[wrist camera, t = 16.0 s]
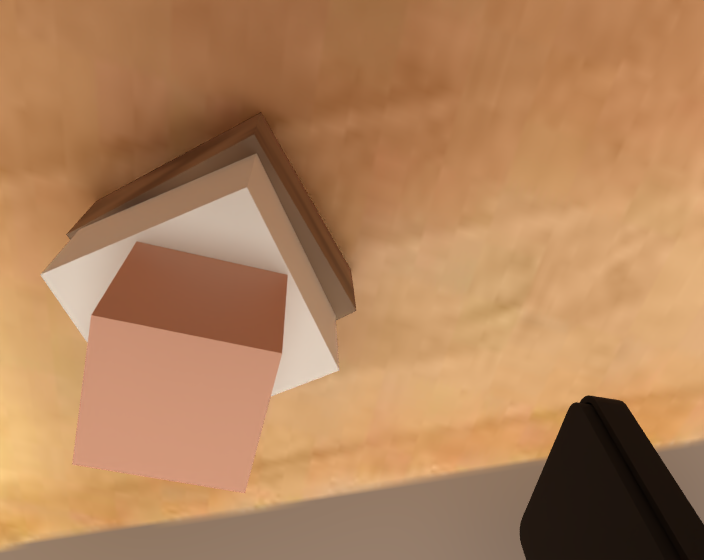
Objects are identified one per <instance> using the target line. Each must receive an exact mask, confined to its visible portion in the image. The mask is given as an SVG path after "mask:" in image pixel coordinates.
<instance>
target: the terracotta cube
mask: <svg viewBox="0 0 704 560" xmlns="http://www.w3.org/2000/svg"><path fill="white" fill-rule="evenodd" d="M287 278H288V275H286V274H282V273H277V272H273V271H268V270H264V269H259V268H255V267H250V266H245V265H241V264H236V263H232V262H227V261H223V260H218V259H214V258H209V257H205V256H200V255H196V254H191V253H187V252H182V251H178V250H173V249H169V248H164V247H160V246H155V245H151V244H146V243H142V242H137V241H136V243H135V245H134V246H133V248H132V250H131V251H130V253H129V254H128V256H127V258H126V259H125V261H124V263H123V264H122V266H121V267H120V269H119V271H118V272H117V274H116V276H115V277H114V279H113V280H112V282H111V284H110V285H109V287H108V289H107V290H106V292H105V293H104V295H103V297H102V298H101V300H100V302H99V303H98V305H97V306H96V308H95V310H94V311H93V313H92V314H91V320H90V328H89V336H88V344H87V352H86V360H85V368H84V376H83V384H82V392H81V400H80V408H79V415H78V423H77V431H76V439H75V447H74V455H73V463H72V465H78V466H84V467H90V468H96V469H102V470H109V471H115V472H121V473H127V474H133V475H139V476H145V477H151V478H157V479H163V480H169V481H175V482H181V483H187V484H193V485H199V486H205V487H211V488H217V489H223V490H229V491H235V492H241V493H245V491H246V487H247V484H248V480H249V476H250V472H251V469H252V465H253V461H254V457H255V454H256V450H257V446H258V442H259V439H260V435H261V431H262V427H263V424H264V420H265V416H266V412H267V409H268V405H269V401H270V397H271V394H272V390H273V386H274V382H275V379H276V375H277V371H278V367H279V364H280V360H281V356H282V349H283V335H284V321H285V307H286V293H287Z"/></svg>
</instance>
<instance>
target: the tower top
mask: <svg viewBox="0 0 704 560" xmlns="http://www.w3.org/2000/svg"><path fill="white" fill-rule="evenodd" d="M136 241H137V242H142V243H146V244H151V245H155V246H160V247H164V248H169V249H173V250H178V251H182V252H187V253H191V254H196V255H200V256H205V257H209V258H214V259H218V260H223V261H227V262H232V263H236V264H241V265H245V266H250V267H255V268H259V269H264V270H268V271H273V272H277V273H282V274H286V275H288V278H287V293H286V307H285V321H284V335H283V349H282V356H281V360H280V364H279V367H278V371H277V375H276V379H275V382H274V386H273V390H272V394H271V396H273V395H276V394H279V393H281V392H284V391H287V390H289V389H292V388H294V387H297V386H300V385H302V384H305V383H307V382H310V381H313V380H315V379H318V378H321V377H323V376H326V375H328V374H331V373H334V372H336V371H339V358H338V344H337V330H336V316H335V314H334V312H333V309H332V307H331V305H330V303H329V301H328V299H327V297H326V295H325V293H324V291H323V289H322V287H321V285H320V283H319V281H318V279H317V277H316V275H315V272H314V270H313V268H312V266H311V264H310V262H309V260H308V258H307V256H306V254H305V252H304V250H303V248H302V246H301V244H300V242H299V240H298V238H297V235H296V233H295V231H294V229H293V227H292V225H291V223H290V221H289V219H288V217H287V215H286V213H285V211H284V209H283V207H282V205H281V203H280V201H279V198H278V196H277V194H276V192H275V190H274V188H273V186H272V184H271V182H270V180H269V178H268V176H267V174H266V172H265V170H264V168H263V166H262V164H261V161H260V159H259V157H258V155H257V153H256V154H253V155H251V156H249V157H246V158H244V159H242V160H239V161H237V162H235V163H232V164H230V165H228V166H225V167H223V168H221V169H218V170H216V171H214V172H211V173H209V174H207V175H204V176H202V177H200V178H197V179H195V180H193V181H190V182H188V183H186V184H184V185H181V186H179V187H177V188H174V189H172V190H170V191H167V192H165V193H163V194H160V195H158V196H156V197H153V198H151V199H149V200H146V201H144V202H142V203H139V204H137V205H135V206H132V207H130V208H128V209H125V210H123V211H121V212H118V213H116V214H114V215H111V216H109V217H107V218H104V219H102V220H100V221H97V222H95V223H93V224H90V225H88V226H86V227H83V228H81V229H79V230H78V232H77V233H76V234H75V235H74V236H73V237H72V239H71V240H70V241H69V242H68V243H67V244H66V245H65V247H64V248H63V249H62V250H61V251H60V252H59V254H58V255H57V256H56V257H55V258H54V259H53V261H52V262H51V263H50V264H49V265H48V266H47V267H46V269H45V270H44V271H43V272H42V273H41V274H40V275H41V276H42V278H43V279H44V281H45V282H46V284H47V285H48V286H49V288H50V289H51V291H52V292H53V294H54V295H55V297H56V298H57V299H58V301H59V302H60V304H61V305H62V307H63V308H64V310H65V311H66V312H67V314H68V315H69V317H70V318H71V320H72V321H73V323H74V324H75V326H76V327H77V328H78V330H79V331H80V333H81V334H82V336H83V337H84V339H85V340H86V341H87V343H88V336H89V328H90V320H91V314H92V313H93V311H94V310H95V308H96V306H97V305H98V303H99V302H100V300H101V298H102V297H103V295H104V293H105V292H106V290H107V289H108V287H109V285H110V284H111V282H112V280H113V279H114V277H115V276H116V274H117V272H118V271H119V269H120V267H121V266H122V264H123V263H124V261H125V259H126V258H127V256H128V254H129V253H130V251H131V250H132V248H133V246H134V245H135V243H136Z"/></svg>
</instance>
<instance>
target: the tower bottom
mask: <svg viewBox="0 0 704 560" xmlns="http://www.w3.org/2000/svg"><path fill="white" fill-rule="evenodd" d="M256 153H257V155H258V157H259V159H260V161H261V164H262V166H263V168H264V170H265V172H266V174H267V176H268V178H269V180H270V182H271V184H272V186H273V188H274V190H275V192H276V194H277V196H278V198H279V201H280V203H281V205H282V207H283V209H284V211H285V213H286V215H287V217H288V219H289V221H290V223H291V225H292V227H293V229H294V231H295V233H296V235H297V238H298V240H299V242H300V244H301V246H302V248H303V250H304V252H305V254H306V256H307V258H308V260H309V262H310V264H311V266H312V268H313V270H314V272H315V275H316V277H317V279H318V281H319V283H320V285H321V287H322V289H323V291H324V293H325V295H326V297H327V299H328V301H329V303H330V305H331V307H332V309H333V312H334V314H335V316H336V320H338V319H340V318H342V317H344V316H346V315H348V314H351V313H353V312H355V311H356V305H355V297H354V289H353V281H352V274H351V270H350V268H349V266H348V265H347V263H346V261H345V259H344V257H343V256H342V254H341V252H340V250H339V249H338V247H337V245H336V243H335V242H334V240H333V238H332V236H331V235H330V233H329V231H328V229H327V227H326V226H325V224H324V222H323V220H322V219H321V217H320V215H319V213H318V212H317V210H316V208H315V206H314V205H313V203H312V201H311V199H310V197H309V196H308V194H307V192H306V190H305V189H304V187H303V185H302V183H301V182H300V180H299V178H298V176H297V175H296V173H295V171H294V169H293V167H292V166H291V164H290V162H289V160H288V159H287V157H286V155H285V153H284V152H283V150H282V148H281V146H280V145H279V143H278V141H277V139H276V138H275V136H274V134H273V132H272V130H271V129H270V127H269V125H268V123H267V122H266V120H265V118H264V116H263V115H262V113H259V114H257V115H256V116H254V117H252V118H250V119H248V120H246V121H244V122H243V123H241V124H239V125H237V126H235V127H233V128H231V129H230V130H228V131H226V132H224V133H222V134H220V135H218V136H217V137H215V138H213V139H211V140H209V141H207V142H205V143H204V144H202V145H200V146H198V147H196V148H194V149H192V150H191V151H189V152H187V153H185V154H183V155H181V156H179V157H178V158H176V159H174V160H172V161H170V162H168V163H166V164H165V165H163V166H161V167H159V168H157V169H155V170H153V171H152V172H150V173H148V174H146V175H144V176H142V177H140V178H139V179H137V180H135V181H133V182H131V183H129V184H127V185H126V186H124V187H122V188H120V189H118V190H116V191H114V192H113V193H111V194H109V195H107V196H105V197H103V198H101V199H100V200H98V201H96V202H95V203H94V204H93V205H92V206H91V208H90V209H89V210H88V211H87V212H86V213H85V214H84V215H83V217H82V218H81V219H80V220H79V221H78V222H77V223H76V224H75V225H74V227H73V228H72V229H71V230H70V231H69V232H68V233H67V234H66V235H67V236H68V237H69V239H70V240H71V239H72V237H73V236H74V235H75V234H76V233H77V232H78V230H79V229H81V228H83V227H86V226H88V225H90V224H93V223H95V222H97V221H100V220H102V219H104V218H107V217H109V216H111V215H114V214H116V213H118V212H121V211H123V210H125V209H128V208H130V207H132V206H135V205H137V204H139V203H142V202H144V201H146V200H149V199H151V198H153V197H156V196H158V195H160V194H163V193H165V192H167V191H170V190H172V189H174V188H177V187H179V186H181V185H184V184H186V183H188V182H190V181H193V180H195V179H197V178H200V177H202V176H204V175H207V174H209V173H211V172H214V171H216V170H218V169H221V168H223V167H225V166H228V165H230V164H232V163H235V162H237V161H239V160H242V159H244V158H246V157H249V156H251V155H253V154H256Z"/></svg>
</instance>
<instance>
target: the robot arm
mask: <svg viewBox="0 0 704 560" xmlns="http://www.w3.org/2000/svg"><path fill="white" fill-rule="evenodd" d="M520 541H521V545H522V548H523V551H524V554H525V557H526V560H704V524H703V523H702V521H701V520H700V518H699V517H698V515H697V514H696V512H695V510H694V509H693V507H692V506H691V504H690V503H689V501H688V500H687V498H686V497H685V495H684V493H683V492H682V490H681V489H680V487H679V486H678V484H677V483H676V481H675V480H674V478H673V476H672V475H671V473H670V472H669V470H668V469H667V467H666V466H665V464H664V463H663V461H662V459H661V458H660V456H659V455H658V453H657V452H656V450H655V449H654V447H653V446H652V444H651V442H650V441H649V439H648V438H647V436H646V435H645V433H644V432H643V430H642V429H641V427H640V426H639V424H638V422H637V421H636V419H635V418H634V416H633V415H632V413H631V412H630V410H629V409H628V407H627V405H626V404H625V403H624V402H623V401H620V400H614V399H608V398H602V397H595V396H585V397H584V398H583V399H582V400H581V401H580V403H577V402H576V403H573V404H572V405H571V406H570V408H569V409H568V412H567V414H566V416H565V419H564V421H563V423H562V426H561V428H560V430H559V433H558V435H557V438H556V440H555V442H554V445H553V447H552V449H551V452H550V454H549V456H548V459H547V461H546V463H545V466H544V468H543V471H542V473H541V475H540V477H539V480H538V482H537V485H536V487H535V489H534V492H533V494H532V496H531V499H530V501H529V503H528V506H527V508H526V510H525V513H524V515H523V518H522V520H521V524H520Z"/></svg>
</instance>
